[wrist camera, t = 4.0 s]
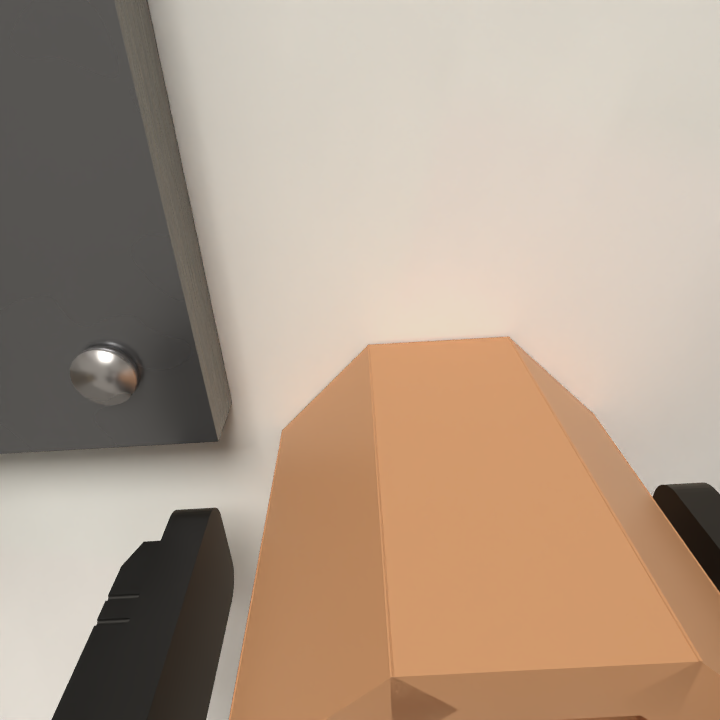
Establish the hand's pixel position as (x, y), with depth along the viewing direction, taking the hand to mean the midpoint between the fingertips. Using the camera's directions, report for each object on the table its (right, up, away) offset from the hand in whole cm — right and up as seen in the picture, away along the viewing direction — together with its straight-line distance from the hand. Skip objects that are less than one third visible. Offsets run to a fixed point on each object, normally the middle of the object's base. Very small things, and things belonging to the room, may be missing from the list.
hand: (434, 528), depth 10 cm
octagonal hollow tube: (0, +1, +1) cm, 2 cm away
